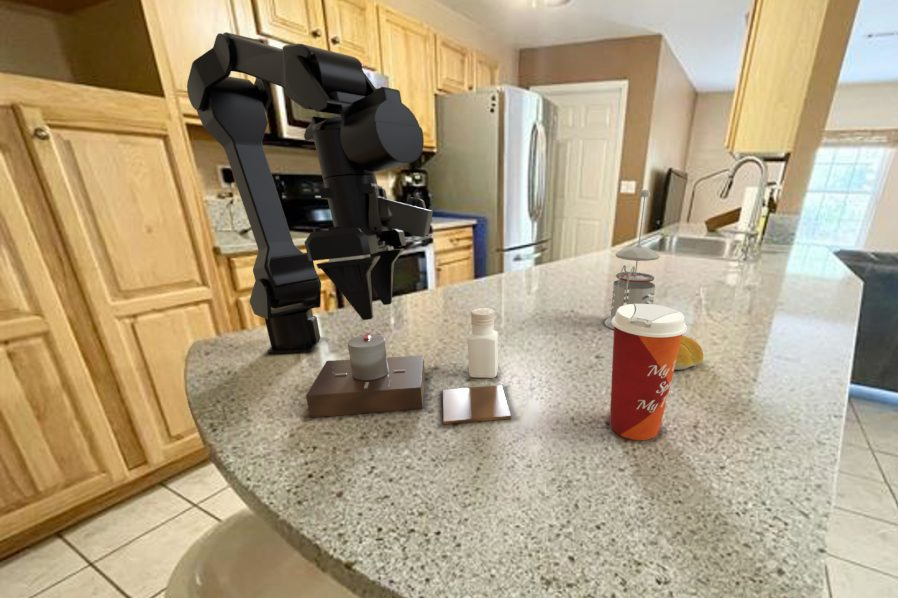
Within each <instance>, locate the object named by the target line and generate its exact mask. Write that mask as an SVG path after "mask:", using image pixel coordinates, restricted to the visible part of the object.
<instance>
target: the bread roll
mask: <svg viewBox="0 0 898 598" xmlns="http://www.w3.org/2000/svg"><path fill="white" fill-rule="evenodd" d="M703 360H704V351H703V348H702V346H701V345H700V344H699V343H698V342H697V341H696V340H694V339H693V338H692V337H689V336H687V335H682V338H681V343H680V347H679V351H678V355H677V359H676V364H675V368H674V371H676V370H677V371H681V370H685V369H689V368H691V367H695V366H698V365H700V364H702V362H703Z"/></svg>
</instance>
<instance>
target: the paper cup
mask: <svg viewBox="0 0 898 598" xmlns="http://www.w3.org/2000/svg"><path fill="white" fill-rule="evenodd" d="M611 322H612V324H613V325H614V329H613V339H612V340H613V342H612V343H613V345H612V361H611V363H612V364H611V387H610V390H611V391H610V410H609V411H610V413H609V415H610V416H609V418H610V419H609V420H610V421H609V422H610V423H609V424H610V428H611V429H612V430H613V431H614V433H616V434H617V435H618V436H621V437H623V438H625V439H629V440H632V441H648V440H651V439H653V438H655V437H656V436H657V435H658V434H659V431H660V428H661V426H662V425H661V424H662V421H663V419H664V418H663V417H664V413H665V409H666V405H667V401H668V397H669V394H670V389H671V384H672V380H673V376H674V372H675V370H674V368H675V364H676V359H677V355H678V351H679V347H680V343H681V338H682V336H683V334H685V333H686V332H687V330H688V326H687V324H686V323H685V316H684V314H683V313H682V312H681V311H679V310H677V309H674V308H672V307H669V306H666V305H661V304H654V303H653V304H650V303H649V304H628V305H627V304H624V305H623V306H621V307H619V308H618V309H617V311H616V315H615V316H614V317H613V319H612V321H611Z"/></svg>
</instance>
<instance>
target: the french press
mask: <svg viewBox="0 0 898 598" xmlns="http://www.w3.org/2000/svg"><path fill="white" fill-rule="evenodd" d="M638 196H639V197H641V198H643V202H642V212H641V220H640V228H639V236H638V244H636V245H631V246H627V247H623V248H621V249H620V250H618V251H617V252H616V253H615V257H616V258H618V259H621V260H626V261H634V262H635V261H636V262H635V266H634V265H633V266H632V267H631V268H630V271H627V266H626V265H625V264H624V265H623V266H622V268H621V270H620V272H618V273H616V275H615V277H616V278H617V280H614V282H613V283H612V284H613V286H612V289H613V290H612V296H611V304H610V308H611V309H610V316H609V317H608V318H606V320H605V321H604V325H605V326H606V327H607V328H609V329H611V330H614V325H613V324H612V322H611V321H612V319H613V317H614V316H615V315H616V311H617V309H618V308H619V307H621V306H623V305H625V303H626V305H628V304H653V305H654V303H653V302H654V295H655V293H656V292H655V291H656V284H655V283H654V280H655V276H654V275H653V274H650V273H646V272H637V270H638V262H649V261H656V260H658V259H659V258H660V257H661V255H660V254H659V253H658V252H656V250H653V249H651V248H649V247H648V246H643V245H641V236H642V227H643V220H644V219H643V218H644V210H645V204H646V203H645V202H646V198H650V197H651V192H650V191H649V190H648V189H643V190H641V191H639V195H638ZM623 270H624V271H623ZM649 295H651V296H649Z"/></svg>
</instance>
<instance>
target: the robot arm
mask: <svg viewBox="0 0 898 598" xmlns="http://www.w3.org/2000/svg"><path fill="white" fill-rule="evenodd" d="M363 67H364V66H363V63H362V62H361V61H360V59H358V58H357V57H355V56H352V55H348V54H344V53H341V52H335V51H332V50H327V49H324V48H321V47H316V46H312V45H309V44H303V43H293V44H286V45H283V46H282V48H280V47H277V46H274V45H271V44H267V43H266V44H265V43H263V42H261V41H260V40H259V39H257V38H252V37H249V36H243V35H239V34H236V33H231V32H228V31H227V32H226V31H225V32H223V33H221V32H219V33H217V35H216V36H215V39H214V43H213V47H212V48H210V49H209V50H207V51H205V52H204V53H203V54H202V55H200V56H199V57H197V58H195V59H194V60H193V61H192V63H191V66H190V71H189V75H188V78H187V82H186V83H187V84H186V90H187V91H186V92H187V97H188V100H189V103H190V105H191V106H192V108H193V109H194V110H195V111H196V114H197V115H198V118H199V120H200V122H201V125H202V127H203V129H204V130H205V131H206V132H208V134H209V135H211V137H212V138H214V139H215V141H216V142H218V143H219V145H221V146H222V147H223V149H224V151H225V155H226V158H227V160H228V163H229V167H230V169H231V172H232V176H233V179H234V181H235V184H236V187H237V191H238V193H239V196H240V199H241V202H242V205H243V208H244V211H245V214H246V217H247V220H248V223H249V226H250V229H251V232H252V235H253V239H254V241H255V243H256V247H257V250H258V252H257V255H256V258H255V261H254V264H253V267H252V273H253V277H254V280H255V281H254V284H253V287H252V292H251V293H250V297H249V305H250V307H251V309H252V312H253V315H255V316H258V317H261V318H263V319H264V322H265V326H266V330H267V335H268V340H269V343H270V347H269V348H268V349H267V351H266V352H267V354H269V355H272V354H273V355H274V354H275V355H276V354H291V353H292V354H293V353H294V354H295V353H309V352H312V351H313V350H314V348H315V347H316V345H317V344H318V343H319V341H320V340H321V333H320V328H319V327H320V326H319V323H318V317H317V315H314V314H313V309H318V308H321V301H322V281H321V278H320V276H319V275H318V272H317V270H316V267H317V269H319V270H321V271H322V272H323V273H324V274H325V276H327V277H328V278H329V280H330V281H331V282H332V283H333V285H335V287H336V288H337V289H338V290H339V292H340V293H341V294H342V295H343V297H344V298H345V299H346V300H347V302H348V303H349V304H350V306H351V307H352V308H353V310H354V311H355V312H356V314H357V315H358V316H359V317H360V319H361V320H363V321H369V320H372V319H373V317H374V312H373V309H374V308H373V306H374V305H373V292H372V288H373V290H374V292H375V294H376V295H377V297H378V299H379V300H380V302H381V304H382V305H383V306H387V305H391V304H392V303H393V288H394V287H393V284H394V271H395V270H394V269H395V262H396V261H397V260H398V258H399V257H400V256H401V254H403V253H404V251H405V248H394V247H404V246H407V241H406V237H405V233H409V234H410V235H411V236H415V237H419V238H426V237H429V233H430V230H431V225H432V223H433V214H434V211H433V210H431V209H427V208H426V203H425V200H423V199H421V198H416V197H411V196H410V197H409V198H408V199H407V200H406V202H405V203H403V202H400V201H396V200H392V199H388V197H387V191H386V189H385V188H383V186H381V185H378V179H377V175H376V172H380V171H385V170H388V169H392V168H396V167H401V166H403V165H408V164H411V163H414V162H415V161H417V160H418V159H419V158H420V157H421V155H422V153H423V150H424V144H425V141H424V133H423V128H422V127H421V126H420V123H419V120H418V119H417V117H416V116H415V114H414V113H413V111H412V110H411V109H410V108H409V107H408V106H407V105H405V104H404V103H403V102H402V95H401V91H400V90H399V89H396V88H391V87H387V86H380V87H378V88H376V87H375V85H374V84H373V83H372V81H371V80H370V79H369V77H368V76H367V74H366V73H365V71H364V69H363ZM232 72H235V73H241V74H244V75H247V76H250V77H253V78H255V80H254V83H253V82H252V81H251V80H250V79H247V78H241V77H234V76H231V73H232ZM268 83H269V84H272V85H275V86H279V87H281V88H283V89H284V93H285V95H286V97H287V98H289V99H290V100H291V101H292V102H294V103H296V104H297V105H298V106H300V107H301V108H303V109H304V110H309V111H310V110H311V111H315V112H317V113H318V112H319V113H326V114H333V115H340V116H333V117H323V116H312V117H311V122H310V124H309V125H308V126H307V127H306V128H305V130H304V134H303V138H304V140H305V141H307V142H314V146H315V150H316V154H317V160H318V164H319V167H320V173H321V176H322V180H323V185H324V188H322V187H321V188H318V191H319V195H320V199H322V200H327V203H328V207H329V211H330V214H331V215H330V216H331V219H332V225H333V226H328V227H327V229H326V230H317V231H311V232H310V233H309V235H308V236H307V238H306V239H305V241H304V242H303V243H304V247H305V250H306V252H303V251H302V249H300V248H299V247H298V246H296V245H295V243H294V241H293V237H292V233H291V231H290V228H289V225H288V222H287V217H286V216H285V212H284V209H283V206H282V202H281V199H280V196H279V192H278V190H277V187H276V183H275V181H274V177H273V175H272V171H271V168H270V165H269V162H268V158H267V156H266V152H265V149H264V145H263V140H264V137H265V134H266V131H267V127H268V124H269V122H268V120H269V119H268V117H267V111H268V109H269V107H270V105H271V102H272V100H273V95H272V93H271V89H270V87H269V85H268ZM324 260H329V261H324ZM316 261H322V262H318V263H314V262H316ZM315 265H316V267H315Z"/></svg>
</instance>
